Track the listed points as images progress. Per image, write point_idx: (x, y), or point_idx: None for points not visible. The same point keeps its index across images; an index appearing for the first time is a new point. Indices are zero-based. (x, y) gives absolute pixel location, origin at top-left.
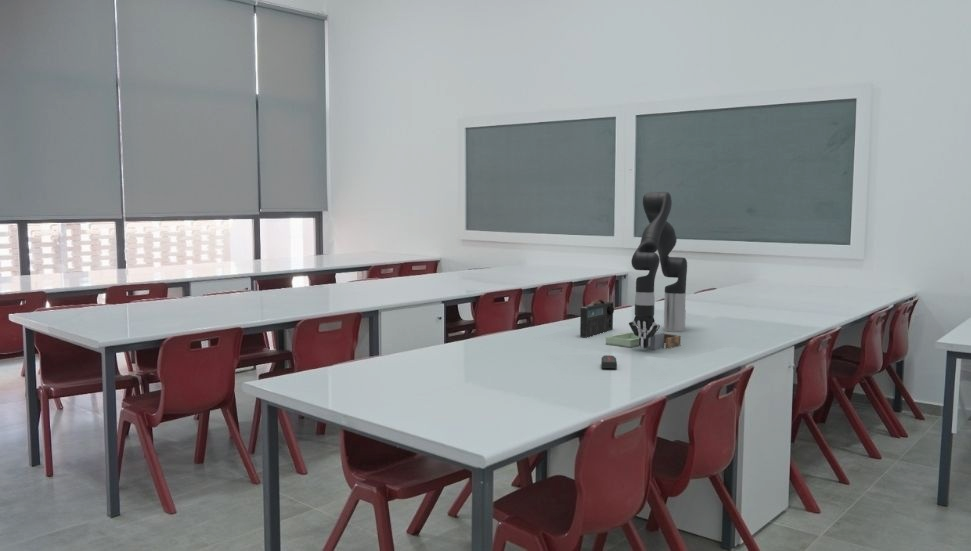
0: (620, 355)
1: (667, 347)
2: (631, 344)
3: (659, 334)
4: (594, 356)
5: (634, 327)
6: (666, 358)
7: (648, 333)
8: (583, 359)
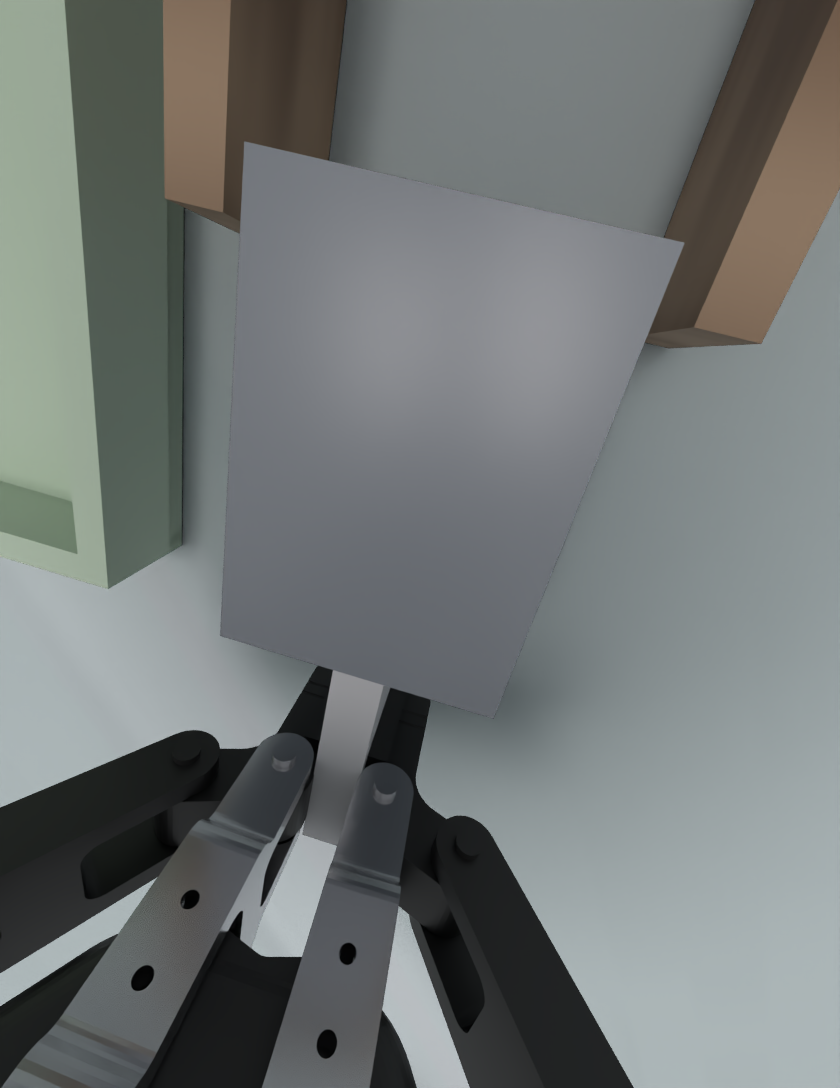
0: (309, 899)
1: (666, 347)
2: (155, 531)
3: (561, 538)
4: None
5: (25, 935)
6: (709, 930)
7: (389, 870)
8: None
